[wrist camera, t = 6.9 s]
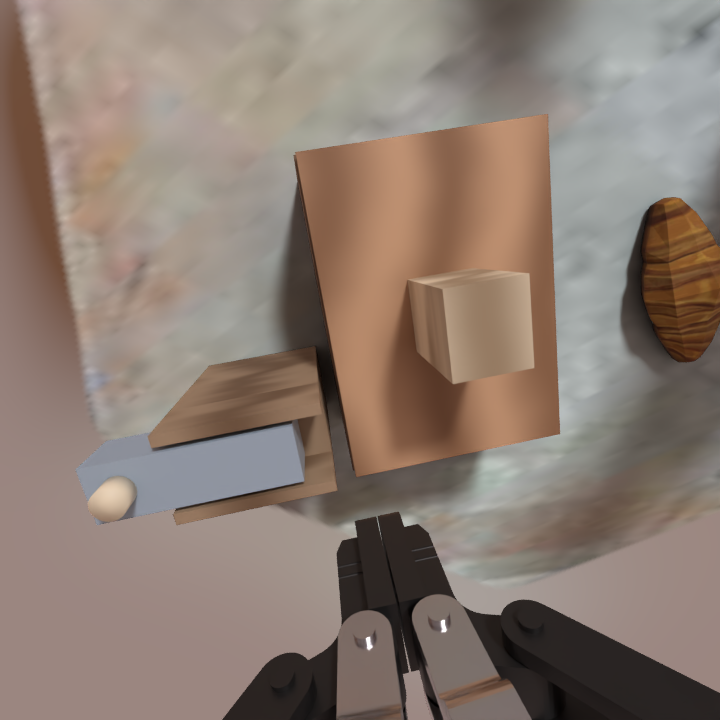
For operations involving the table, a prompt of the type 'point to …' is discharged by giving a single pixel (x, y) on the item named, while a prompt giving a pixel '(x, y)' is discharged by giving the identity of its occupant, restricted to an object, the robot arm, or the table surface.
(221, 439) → the drawer
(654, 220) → the croissant
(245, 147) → the table surface
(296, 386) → the toolbox
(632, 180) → the table surface
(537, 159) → the lid
